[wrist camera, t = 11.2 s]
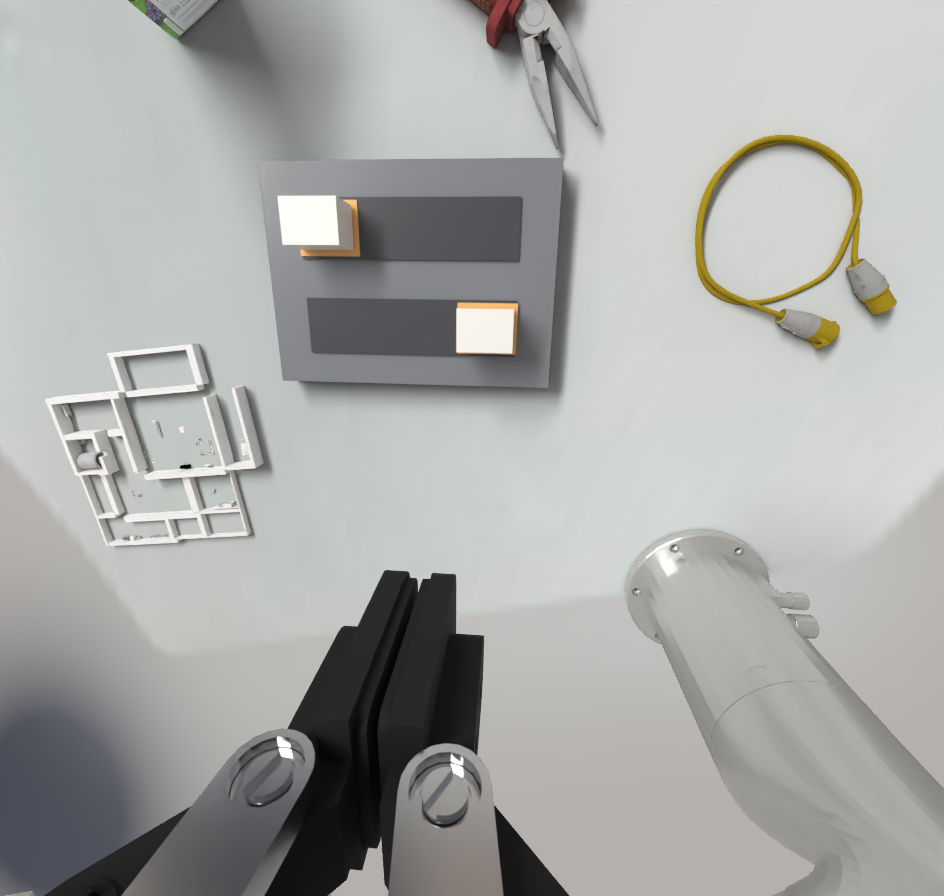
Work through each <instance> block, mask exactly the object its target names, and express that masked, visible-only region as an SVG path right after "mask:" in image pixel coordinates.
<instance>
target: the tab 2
mask: <svg viewBox="0 0 944 896" xmlns="http://www.w3.org/2000/svg"><path fill="white" fill-rule="evenodd" d="M513 324H514V309H482V308H456V352H467V353H510V354H512V348H513Z"/></svg>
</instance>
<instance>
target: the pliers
mask: <svg viewBox="0 0 944 896" xmlns="http://www.w3.org/2000/svg"><path fill="white" fill-rule="evenodd" d="M471 1H472V2H473V3H475V4H476V5H477V6H479V7H480V8H481V9H482V10H484V11H485V12H486V13H487V14H489V15H490V17H489V19H488V22H487V26H486V36H487V42H488V43H489V44H490V45H491V46H493V47H494V48H496V46H497V45H498V43H499V41H500V39H501V37H502V35H503V34H504V32H505V30H507V31H508V32H510V33H511V34H512V35H513V33H514V31H515V29H516V28H517V32H518V37H519V42H520V46H521V51H522V56H523V60H524V65H525V70H526V74H527V78H528V82H529V86H530V89H531V91H532V94H533V96H534V98H535V101H536V103H537V105H538V108H539V110H540V112H541V114H542V117H543V119H544V121H545V124H546V126H547V128H548V131H549V133H550V135H551V138H552V140H553V142H554V144H555V147H556V149H558V147H559V146H558V141H557V135H556V129H555V123H554V117H553V112H552V106H551V100H550V94H549V88H548V83H547V77H546V72H545V67H544V61H543V60H542V56H541V51H540V46H539V45H541V44H542V43H543V44H542V45H545V44H547V43H551V45H552V47H553V48H554V50H555V51H556V58H555V63H554V64H555V66H556V67H557V69H558V71H559V72H560V74H561V75H562V77H563V79H564V80H565V82H566V83H567V85H568V86H569V88H570V89H571V91H572V92H573V93H574V95H575V96H576V98H577V99H578V101H579V102H580V104H581V105H582V107H583V108H584V109H585V111H586V112H587V114H588V115H589V117H590V118H591V120H592V121H593V123H594V124H595V125H596V126H597V125H598V120H597V117H596V114H595V111H594V108H593V105H592V102H591V99H590V95H589V92H588V89H587V86H586V83H585V80H584V77H583V74H582V70H581V67H580V64H579V61H578V58H577V55H576V52H575V49H574V47H573V45H572V43H571V41H570V39H569V37H568V35H567V33H566V32H565V30H564V28H563V26H562V24H561V23H560V21H559V19H558V17H557V16H556V14H555V13H554V11H553V9H552V8H551V6H550V0H471Z"/></svg>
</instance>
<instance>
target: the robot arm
mask: <svg viewBox="0 0 944 896" xmlns="http://www.w3.org/2000/svg"><path fill="white" fill-rule="evenodd" d="M625 598H626V603H627V606H628V610H629V612H630V614H631V616H632V619H633V621H634V622H635V624H636V625H637V627H638V628H639V629H640V630H641V631H642V632H643V633H644V634H645V635H646V636H647V637H649V638H650V639H652V640H653V641H655V642H657V643H659V644H662V646H663V648H664V651H665V653H666V655H667V657H668V659H669V662H670V664H671V666H672V668H673V671H674V673H675V675H676V677H677V680H678V682H679V684H680V686H681V689H682V691H683V693H684V695H685V698H686V700H687V702H688V704H689V706H690V709H691V711H692V713H693V716H694V718H695V720H696V722H697V725H698V727H699V729H700V731H701V733H702V736H703V738H704V740H705V742H706V745H707V747H708V749H709V752H710V754H711V756H712V758H713V761H714V762H715V764H716V767H717V769H718V771H719V773H720V775H721V778H722V780H723V782H724V784H725V786H726V788H727V789H728V791H729V793H730V794H731V796H732V797H733V799H734V800H735V802H736V803H737V805H738V806H739V807H740V808H741V809H742V810H743V812H744V813H745V814H746V815H747V816H748V817H749V818H750V820H752V821H753V822H754V823H755V824H756V825H757V826H758V827H760V828H761V829H762V830H763V831H764V832H766V833H767V834H768V835H769V836H771V837H772V838H773V839H775V840H776V841H778V842H779V843H781V844H782V845H784V846H785V847H786V848H788V849H790V850H791V851H793V852H795V853H796V854H798V855H800V856H801V857H803V858H804V859H806V860H808V861H809V862H811V863H813V864H814V865H815V867H814V870H813V871H812V872H811V873H810V874H809V875H808V876H806V877H805V878H803V879H801V880H799V881H797V882H796V883H794V884H792V885H790V886H788V887H787V888H786V889H785V890H784V891H781V892H779V893H777V894H775V895H773V896H944V788H943V787H942V786H941V785H940V784H939V783H938V782H937V781H936V780H935V779H934V778H933V777H932V776H931V775H930V773H929V772H928V771H927V770H926V769H925V768H924V767H923V766H922V765H921V764H920V763H919V762H918V761H917V760H916V759H915V758H914V757H913V756H912V754H911V753H910V752H909V751H908V750H907V749H906V748H905V747H904V746H903V745H902V744H901V743H900V742H899V741H898V740H897V738H896V737H895V736H894V735H893V734H892V733H891V732H890V731H889V730H888V729H887V727H885V725H884V724H883V723H882V722H881V721H880V720H879V718H878V717H877V716H876V715H875V714H874V713H873V712H872V711H871V709H869V707H868V706H867V705H866V704H865V703H864V702H863V701H862V700H861V699H860V698H859V697H858V696H857V694H856V693H855V692H854V691H853V690H852V689H851V688H850V687H849V686H848V685H847V683H846V682H845V681H844V680H843V679H842V678H841V676H840V675H839V674H838V673H837V672H836V671H835V670H834V669H833V668H832V667H831V665H830V664H829V663H828V662H827V661H826V660H825V658H824V657H823V656H822V655H821V654H820V653H819V652H818V651H817V650H816V648H815V647H814V646H813V645H812V644H811V643H810V642H809V641H808V639H807V638H816V637H818V634H819V626H818V623H817V621H816V619H815V618H814V617H813V616H811V615H800V614H787V615H785V614H784V612H783V611H782V610H781V608H789V609H798V610H807V609H808V608H809V603H810V602H809V599H808V597H807V595H805V594H804V593H789V592H788V593H779V592H778V591H777V590H775V589H774V588H773V587H772V586H771V584H770V582H769V576H768V573H767V570H766V568H765V566H764V564H763V562H762V561H761V560H760V558H759V557H758V556H757V554H756V553H755V552H754V551H753V550H752V549H751V548H750V547H749V546H747V545H746V544H745V543H743V542H742V541H740V540H739V539H737V538H735V537H732V536H730V535H728V534H725V533H721V532H716V531H710V530H693V531H685V532H681V533H677V534H674V535H671V536H668V537H666V538H664V539H662V540H660V541H658V542H657V543H655V544H654V545H652V546H651V547H649V548H648V549H647V550H646V551H645V552H644V553H643V554H642V555H641V556H640V557H639V558H638V559H637V561H636V562H635V563H634V565H633V566H632V568H631V570H630V573H629V575H628V577H627V582H626V587H625ZM483 655H484V636H480V635H466V634H456V575H455V574H440V573H432V575H431V579H423V580H422V583H421V586H420V589H419V592H418V582H417V579H416V578H410V574H409V572H407V571H391V570H385V571H384V573H383V575H382V577H381V579H380V581H379V583H378V585H377V587H376V589H375V591H374V593H373V596H372V598H371V600H370V602H369V604H368V606H367V608H366V610H365V612H364V614H363V616H362V619H361V621H360V623H359V625H358V627H354V626H344V627H342V628H341V629H340V631H339V632H338V634H337V636H336V638H335V640H334V642H333V644H332V645H331V647H330V649H329V651H328V653H327V655H326V657H325V659H324V660H323V662H322V664H321V666H320V668H319V670H318V672H317V674H316V676H315V678H314V680H313V681H312V683H311V685H310V687H309V689H308V691H307V693H306V695H305V696H304V699H303V700H302V702H301V704H300V706H299V708H298V710H297V712H296V713H295V715H294V717H293V719H292V721H291V723H290V725H289V727H288V729H278V730H273V731H268V732H265V733H263V734H261V735H258V736H256V737H254V738H252V739H251V740H249V741H248V742H247V743H245V744H244V745H242V746H241V747H240V748H239V749H238V750H237V751H236V752H235V753H234V754H233V755H232V756H231V757H230V758H229V759H228V760H227V761H226V763H225V764H224V765H223V767H222V768H221V769H220V770H219V772H218V773H217V774H216V776H215V777H214V778H213V780H212V781H211V782H210V783H209V784H208V786H207V787H206V788H205V790H204V791H203V792H202V794H201V795H200V796H199V797H198V799H197V800H196V801H195V802H194V804H193V805H192V806H191V807H189V808H187V809H186V810H184V811H182V812H181V813H179V814H178V815H176V816H174V817H172V818H170V819H169V820H167V821H166V822H164V823H162V824H160V825H159V826H157V827H155V828H154V829H152V830H150V831H149V832H147V833H145V834H144V835H142V836H140V837H138V838H137V839H135V840H134V841H132V842H130V843H128V844H127V845H125V846H123V847H122V848H120V849H118V850H117V851H115V852H113V853H112V854H110V855H108V856H106V857H105V858H103V859H101V860H100V861H98V862H96V863H95V864H93V865H91V866H90V867H88V868H86V869H85V870H83V871H81V872H80V873H78V874H76V875H74V876H73V877H71V878H69V879H68V880H66V881H65V882H63V883H62V884H60V885H59V886H57V887H56V888H55V889H53V890H52V891H51V892H49V893H47V894H46V895H45V896H331V892H333V891H334V890H335V889H336V888H337V887H339V886H340V885H341V884H342V883H343V882H344V881H346V880H347V877H348V873H349V870H350V869H355V870H362V869H363V865H364V861H365V858H366V854H367V850H368V848H377V847H378V845H379V842H380V839H381V837H382V853H383V867H384V881H385V885H386V887H387V889H388V891H389V892H388V896H569V895H568V894H567V892H566V891H565V890H564V889H563V888H562V886H561V885H560V884H559V883H558V882H557V880H556V879H555V878H554V877H553V876H552V874H551V873H550V872H549V871H548V869H547V868H546V867H545V866H544V865H543V863H542V862H541V861H540V860H539V859H538V857H537V856H536V855H535V854H534V853H533V851H532V850H531V849H530V848H529V846H528V845H527V844H526V843H525V842H524V840H523V839H522V838H521V837H520V836H519V835H518V833H517V832H516V831H515V830H514V828H513V827H512V826H511V825H510V823H509V822H508V821H507V820H506V819H505V817H504V816H503V815H502V814H501V813H500V812H499V810H498V809H497V808H496V807H495V806H494V801H493V792H492V784H491V780H490V776H489V772H488V770H487V768H486V766H485V765H484V763H483V762H482V760H481V758H479V757H478V756H477V751H478V739H479V726H480V712H481V699H482V681H483ZM5 896H35V895H34V893H33V891H29V892H23V893H18V894H12V895H5Z"/></svg>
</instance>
